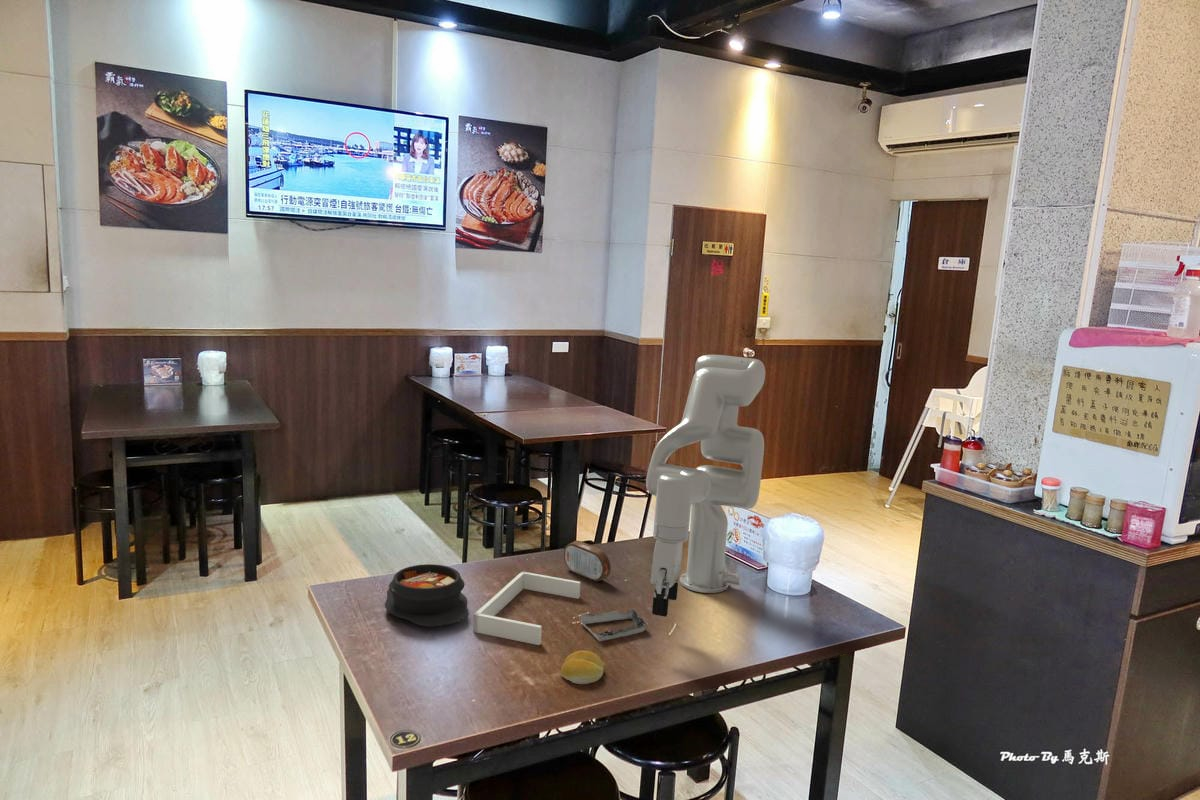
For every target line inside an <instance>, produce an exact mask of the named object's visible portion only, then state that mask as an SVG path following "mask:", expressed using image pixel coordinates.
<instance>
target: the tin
mask: <svg viewBox="0 0 1200 800" xmlns="http://www.w3.org/2000/svg"><path fill="white" fill-rule="evenodd" d="M563 557H564V558H563V559H564V564H565V566H566V567H567V568H568V569H569V570H570V571H571V572H572V573H574V574H577V575H578V576H581V577H583V578H586V579H587V578H588V580H590V581H592V580H593V581H592V582H600V581H602V580H606V579H607V578H608V577H609V576H610V574H611V571H612V570H611V568H612V567H611V566H612V565H611V561H610V558H609V556H608V555H607V554H606V553H605V552H604V551H603V550H602V548H601V549H600V548H598V547H596V546H593V545H590V544H588V543H585V542H584V541H580V540H574V541H572V542H570V543H568V544H567V545H565V547H564V550H563Z"/></svg>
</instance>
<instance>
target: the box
mask: <svg viewBox="0 0 1200 800" xmlns="http://www.w3.org/2000/svg"><path fill="white" fill-rule="evenodd" d="M523 590H529V591H532V592H533V591H534V592H539V593H545V594H549V595H550V594H552V595H556V596H562V597H566V598H573V599H578V600H579V599H580V598H581V581H577V580H572V579H568V578H567V579H566V578H561V577H554V576H549V575H545V574H540V573H539V574H537V573H533V572H528V571H527V572H526V571H521V572H520V573H518V574H517V575H516V576H515V577H514V578H513V579H512V580H510V581H509V582H508V583H507V584H506V585H505V586H504V587H502V588H501V589H500V590H499V591H498V592H497V593H496V594H495V595H494V596H492V598H490V599H489V600H488V601H487V602H486V603H485V604H484V605H483V606H482V607H480V608H479V609H478V610H477V611H475V613H473V623H472V625H473V627H472V632H473V633H477V634H483V635H488V636H492V637H497V638H502V639H506V640H512V641H517V642H523V643H527V644H531V645H536V646H540V645H541V643H542V630H543V629H542V627H543V626H542V625H540V624H539V625H538V624H534V623H530V622H523V621H520V620H519V621H518V620H514V619H510V618H504V617H499V616H497V614H498V613H500V612H501V611H502V609H504V608H505V606H507V605H508V604H509V603H510V602H511V601H512V600H513V599H514V598H515V597H517V595H518V594H520V593H521V591H523Z"/></svg>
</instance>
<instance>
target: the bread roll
mask: <svg viewBox="0 0 1200 800" xmlns="http://www.w3.org/2000/svg"><path fill="white" fill-rule="evenodd" d="M604 666H605V665H604V663H603V661H602V658H601V657H600V656H599V655H597V654H596V653H594V652H593V651H588V650H577V651H574V652H572V653H570V654H569V655H567V657H566V658H565V660H564V663H563V665H562V667H561V668H560V674H561V677H563V678H564V679H565V680H567V681H568V680H569V682H570V681H571V683H573V684H577V685H588V684H592V683H596V682H597V681H599V680H600V679H601V678H602V676H603V675H604V668H605V667H604Z"/></svg>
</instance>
